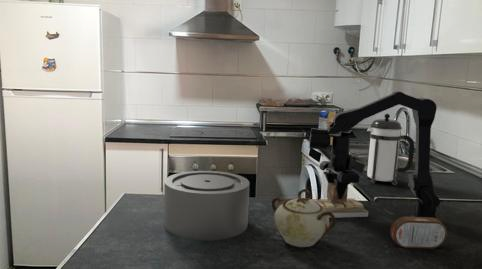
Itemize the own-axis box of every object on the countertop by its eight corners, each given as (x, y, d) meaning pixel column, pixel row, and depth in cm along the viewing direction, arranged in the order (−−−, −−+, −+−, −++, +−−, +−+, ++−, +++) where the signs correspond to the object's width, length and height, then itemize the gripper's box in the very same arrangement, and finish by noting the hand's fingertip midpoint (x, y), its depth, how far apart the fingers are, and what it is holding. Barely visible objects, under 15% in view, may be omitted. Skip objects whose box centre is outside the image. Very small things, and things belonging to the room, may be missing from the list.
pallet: (364, 211, 140) (364, 204, 139) (315, 212, 136) (316, 206, 136) (354, 204, 146) (354, 198, 146) (308, 205, 143) (308, 199, 143)
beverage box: (316, 145, 267) (319, 111, 263) (326, 144, 274) (328, 110, 271) (326, 147, 262) (328, 112, 258) (335, 145, 270) (338, 111, 266)
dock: (367, 216, 139) (368, 211, 139) (313, 218, 135) (314, 212, 135) (355, 207, 148) (355, 202, 147) (304, 208, 144) (304, 203, 144)
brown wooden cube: (346, 201, 139) (348, 186, 138) (332, 201, 138) (333, 186, 137) (340, 196, 144) (341, 182, 143) (326, 197, 143) (327, 182, 142)
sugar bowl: (344, 243, 117) (349, 190, 114) (319, 261, 105) (324, 203, 103) (284, 224, 128) (286, 177, 126) (255, 239, 117) (258, 186, 114)
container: (156, 213, 134) (157, 173, 132) (230, 207, 143) (232, 169, 141) (174, 245, 111) (175, 196, 109) (260, 235, 120) (263, 190, 118)
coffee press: (387, 188, 174) (394, 116, 169) (356, 179, 187) (362, 112, 182) (411, 183, 184) (418, 115, 179) (380, 175, 197) (386, 111, 192)
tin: (441, 245, 118) (444, 216, 117) (447, 250, 115) (450, 220, 114) (388, 244, 118) (391, 215, 116) (392, 248, 114) (395, 219, 113)
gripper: (377, 156, 131) (372, 204, 133) (350, 145, 149) (346, 188, 151) (344, 156, 129) (340, 205, 131) (320, 145, 147) (317, 188, 149)
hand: (336, 196), depth 141 cm, fingers closed on brown wooden cube, 5 cm apart
